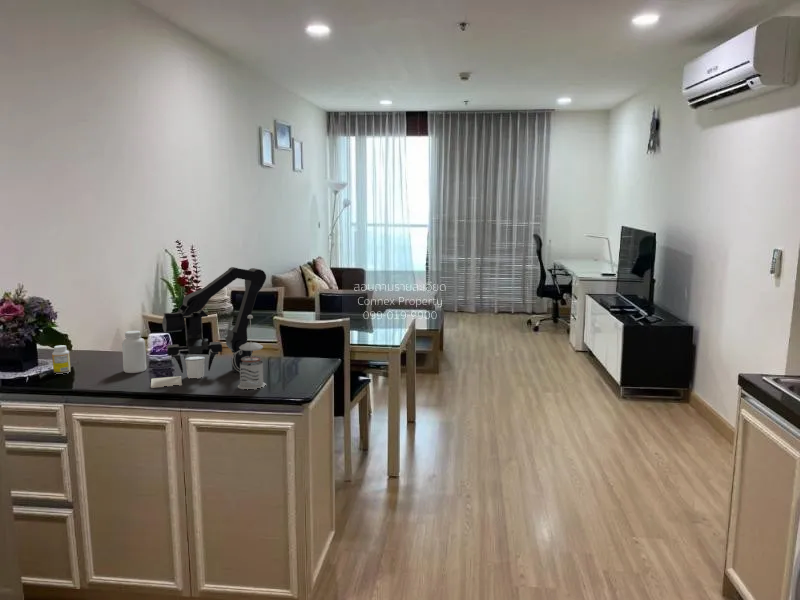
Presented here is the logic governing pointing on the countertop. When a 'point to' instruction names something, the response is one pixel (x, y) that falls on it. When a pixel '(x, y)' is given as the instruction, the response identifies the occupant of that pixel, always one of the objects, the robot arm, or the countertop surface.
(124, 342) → the pill bottle
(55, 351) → the supplement bottle
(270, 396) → the countertop surface
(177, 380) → the coaster
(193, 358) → the shot glass
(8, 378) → the countertop surface
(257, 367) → the french press
